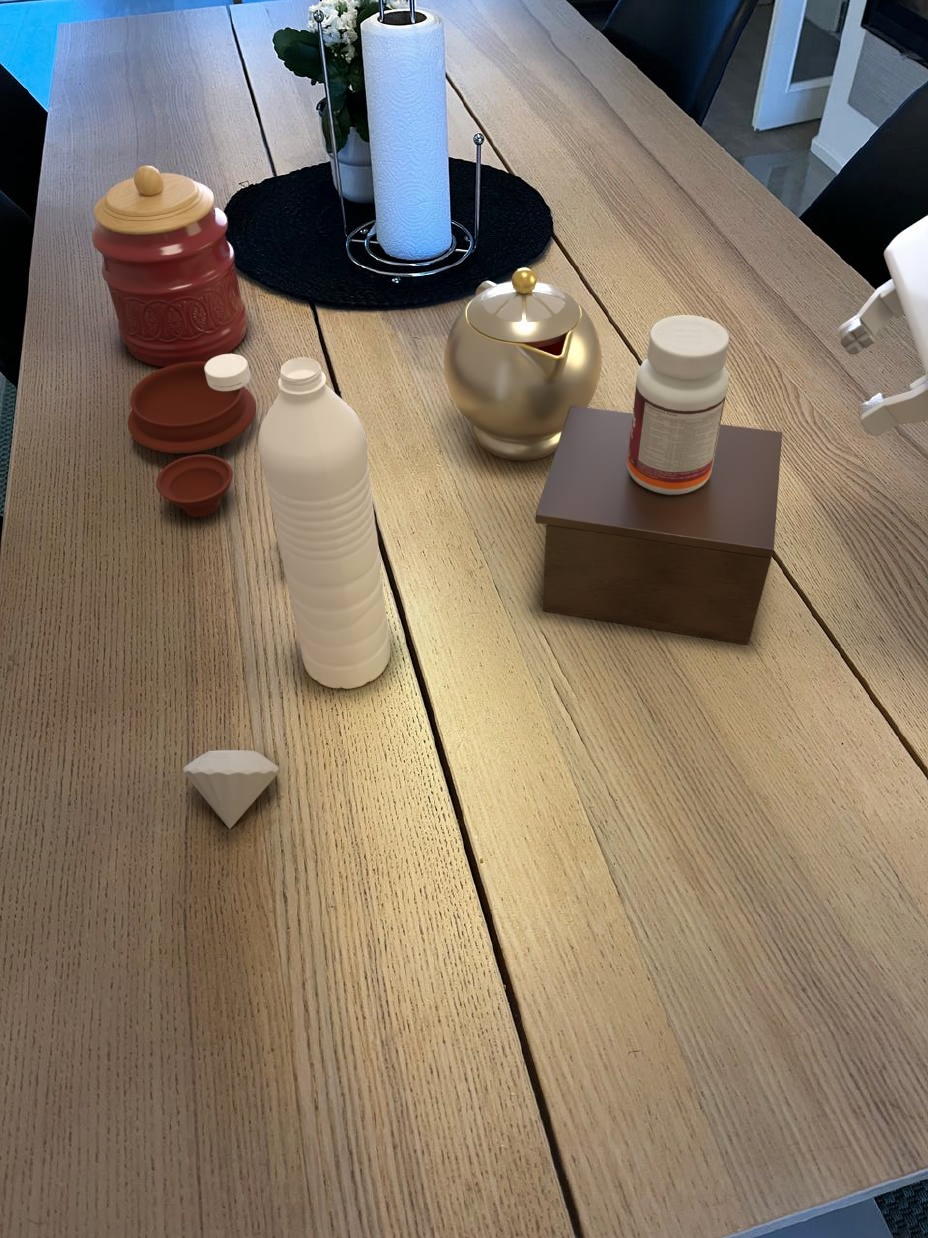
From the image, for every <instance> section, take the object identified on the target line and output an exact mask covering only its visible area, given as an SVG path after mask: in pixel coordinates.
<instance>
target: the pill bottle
mask: <svg viewBox="0 0 928 1238" xmlns="http://www.w3.org/2000/svg"><path fill="white" fill-rule="evenodd" d="M729 344H730V335H729V332H728V331H727V330H726V328H725V327H724V326H722V325H721V324H719V322H717V321H715V320H713V319H711V318H707V317H704V316H700V315H699V316H698V315H694V314H693V315H692V314H678V315H672V316H668V317H665V318H663V319H660V320H658V321H657V322H656V323H655V324H654V325H652V328H651V329H650V332H649V338H648V346H647V352H646V356H647V357H646V359H644V361H642V363H641V365H640V366H639V368H638V371H637V375H636V380H635V392H634V399H633V408H632V409H633V410H632V413H633V416H632V425H631V433H630V441H629V449H628V458H627V467H628V471H629V473H630V475H631V477H632V478H633V479H634V480H635V481H636V482H637V483H638V484H639V485H641V486H643V487H644V488H647V489H649V490H651V491H654V492H657V493H661V494H668V495H678V494H684V493H688V492H691V491H694V490H696V489H698V488H700V487H701V486H702V485H704V484H705V483H706V481H707V480H708V479H709V477H710V474H711V471H712V466H713V461H714V456H715V450H716V445H717V440H718V435H719V429H720V424H722V418H723V414H724V408H725V405H726V399H727V395H728V392H729V391H728V390H729V382H730V381H729V380H730V379H729V374H728V371H727V369H726V367H725V366H726V363H727V358H728V357H727V356H728V349H729Z"/></svg>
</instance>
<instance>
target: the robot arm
mask: <svg viewBox="0 0 928 1238" xmlns="http://www.w3.org/2000/svg"><path fill="white" fill-rule="evenodd" d="M883 257H884V260H885V263H886V266H887V268H888V271H889V275H890V277H891V278H890V279H889V280H888V281H886V282H885V283H883V284H882V285H880V286H879V287H877V288H876V290H875V291H874V292H873V293H872V294H871V296H870V297H869V298H868V300H867V301H866V302H865V303H864V305H862V307H861V308H860V309H859V311H858V312H857V314H856V315H854V316H853V317H851V318H850V319H848V320H846V321H845V322H843V323H842V324H841V325H840V326H838V328H837V335H838V338H839V342H840V345H841V346H842V347H843V348H844V349H845V350H846V352H847V353H848V354H849V355H852V356H854V355H858V354H859V353H861V352H863V350H864V349H867V348H869V347H870V346H872V345H873V344H875V343H876V339H875V336H876V335H877V334H878V333H879V332H880V331H881V330H882V329H883V328H884V327H885V326H886V325H887V324H888V323H889V322H890V321H891V320H892V319H893V318H894V317H896V319H900V318H901V317H903V316H904V317H905V319H906V323H907V325H908V328H909V331H910V334H911V337H912V339H913V342H914V345H915V348H916V351H917V354H918V357H919V360H920V362H921V365H922V368H923V371H924V373H925V375H923V376H921V377H919V378H918V379H916V380H915V381H913V382H912V383H910V385H909V388H910V390H909V391H906V392H902V393H898V394H895V395H893V396H888V397H885V395H884V394H883V393H882V392H879V393H876V395H874V396H872V397H871V398H870V399H869V400H868V401H864V402H862V403H861V404H860V405H859V406H858V408H857V409H858V410H857V412H858V417H859V420H860V424H861V426H862V427H863V429H864V430H865V431H866V432H867V433H868V434H869V436H871V437H879V436H881V435H883V434H885V433H886V432H888V431H890V430H892V429H894V428H896V427H897V426H898V425H907V424H914V423H920V422H927V421H928V214H927V215H926V216H924V217H922V218H921V219H920V220H918V221H916V222H915V223H913V224H912V225H910V226H909V227H907V228H906V229H904V230H902V231H901V232H900V233H898V234H897V235H896V236H895V237H894V238H893V239H892V240H891V242H890V243H889V245H887V247H886V248H885V250H884V252H883Z"/></svg>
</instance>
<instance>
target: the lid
mask: <svg viewBox="0 0 928 1238" xmlns="http://www.w3.org/2000/svg"><path fill="white" fill-rule="evenodd" d="M632 416H633V412H626V411H620V410H619V411H618V410H611V409H601V408H595V407H588V406H587V407H579V406H570V407H569V410H568V414H567V417H566V420H565V423H564V426H563V429H562V432H561V436H560V439H559V442H558V445H557V448H556V451H555V452H554V455H553V458H552V461H551V464H550V467H549V470H548V474H547V476H546V480H545V483H544V486H543V489H542V493H541V496H540V499H539V502H538V506H537V507H536V512H535V516H534V517H535V519H534V522H535V523H536V524H540V525H545V526H546V525H553V526H560V527H567V528H574V529H580V530H587V531H594V532H601V533H607V534H614V535H621V536H628V537H634V538H641V539H648V540H655V541H661V542H668V543H675V544H682V545H688V546H695V547H702V548H709V549H715V550H722V551H729V552H736V553H742V554H749V555H756V556H763V557H769V558H771V559H772V557H773V554H774V551H775V536H776V523H777V511H778V509H777V508H778V498H779V483H780V469H781V468H780V467H781V456H782V455H781V454H782V441H783V432H782V431H777V430H771V429H762V428H754V427H745V426H737V425H730V424H724V423H723V424H722V423H721V424H720V429H719V435H718V440H717V445H716V450H715V456H714V461H713V466H712V471H711V474H710V477H709V479H708V480H707V481H706V483H705V484H704V485H702V486H701V487H700V488H698V489H696V490H694V491H691V492H688V493H684V494H678V495H668V494H661V493H657V492H654V491H651V490H649V489H647V488H644V487H643V486H641V485H639V484H638V483H637V482H636V481H635V480H634V479H633V478H632V477H631V475H630V473H629V471H628V467H627V458H628V449H629V441H630V433H631V425H632Z"/></svg>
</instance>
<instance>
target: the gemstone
mask: <svg viewBox="0 0 928 1238" xmlns="http://www.w3.org/2000/svg"><path fill="white" fill-rule="evenodd" d="M182 772H183V774H184V775H185V776H186V777H187V778H188V780H189V781H190V782H191V784H193V786H194V787H195V788H196V790H197V791H198V792H199V794H200V795H201V796H202V797H203V798H204V800H205V801H206V802H207V803H208V804H209V806H210V807H211V808H212V809H213V811H214V812H215V813H216V815H217V816H218V817H219V818H220V819H221V821H222V822H223V823H224V824H225V825H226V827H227V828H228V829H229V830H231V829H232V828H233V827H234V826H235V824H236V823H237V822H238V821H239V820H240V818H241V817H242V816H243V815H244V814H245V812H247V810H248V809H249V808H250V807H251V806H252V804H253V803H254V802H255V801H256V800H257V799H258V797H259V796H260V795H261V794H262V793H263V791H264V790H265V789H266V788H267V787H268V786H269V784H270V783H271V782H272V781H273V780H274V779H275V778H276V777H277V775H279V773H280V768H279V766H278V765H276V764H275V763H274V762H272V761H271V760H269V759H268V758H266V756H264V755H263V754H260V753H259V752H258V751H256V750H246V749H245V750H244V749H242V750H241V749H240V750H239V749H225V750H224V749H221V750H208V751H206V752H205V753H202V754H201V755H200V756H198V757H197V758H195V759H194V760H192V761H190V762H189V763H188V764H187V765H186V766H184V768H182Z"/></svg>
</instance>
